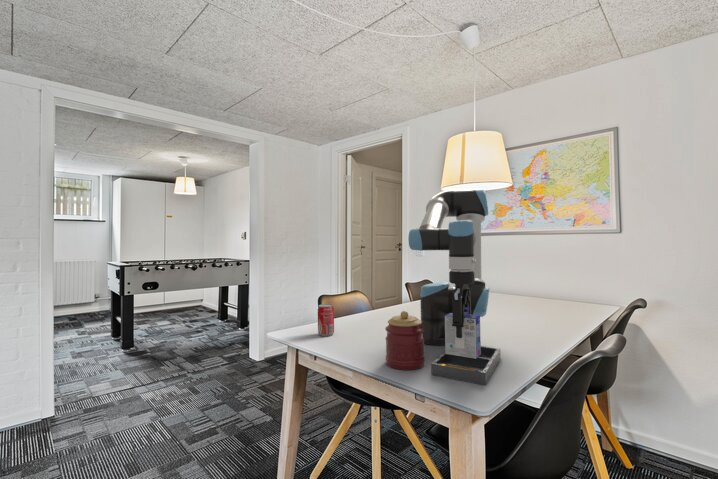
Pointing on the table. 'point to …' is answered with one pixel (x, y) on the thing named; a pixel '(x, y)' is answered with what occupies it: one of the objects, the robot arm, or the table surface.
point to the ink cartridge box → (471, 336)
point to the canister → (405, 342)
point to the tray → (467, 366)
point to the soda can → (325, 320)
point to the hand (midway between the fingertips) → (462, 345)
